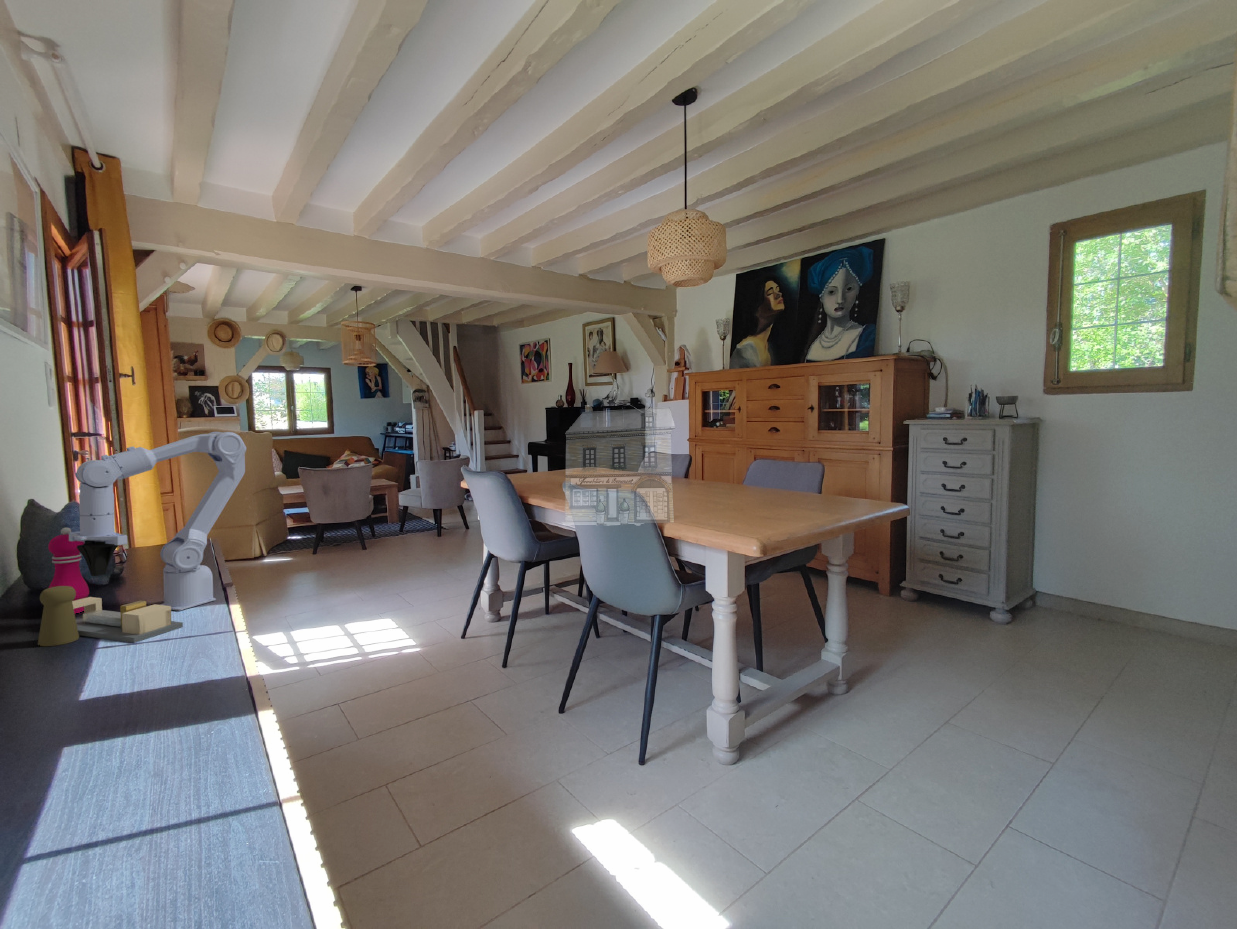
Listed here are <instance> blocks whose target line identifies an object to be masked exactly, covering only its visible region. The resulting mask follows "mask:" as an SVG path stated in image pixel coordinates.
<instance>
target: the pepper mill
mask: <svg viewBox="0 0 1237 929" xmlns="http://www.w3.org/2000/svg"><path fill="white" fill-rule="evenodd" d="M71 532H72V529H71V528H69V527H63V528H62V529H60V534H59V535H57V536H54V537H52V539H50V541H49V543H48V545H47V546H48V551H49V552H50V553H51V554H52V555H53V556H52V557H51V559H52V561H51V563H52V564H54V574H53V578H52V580H51V582H50V585H49V586H48V588H51V587H57V586H70V587H73V588H74V589H75V591H76V596H75V599H74V600H73V601H75V600H79V599H83V598H88V597H89V595H90V588H89V586H88V583H87V581H86V580H85V578H84V577H83V576H82V572H81V568H80V561H81V560H83V558H82V556H83V555H82V554H81V552H80V551H79V550H78V549H77V546H78V545H84V543H85V542H83V541H69V533H71ZM82 611H84V606H83V607H79V608H75V609H74V614H75V615H77V614H76V613H79V614H81V613H80V612H82ZM82 613H83V612H82Z"/></svg>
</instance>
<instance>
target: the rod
mask: <svg viewBox="0 0 1237 929" xmlns="http://www.w3.org/2000/svg"><path fill="white" fill-rule="evenodd" d="M143 607H147V601H146V600H138V601H133V602H131V603H127V604H123V605H120V608H119V609H120V611H115V610H114V611H113V610H105V609H104V610H103V609H102V610H95V611H91V612H87V613H84V612H83V613H82V616H83V622H88V623H96V624H103V625H111V626H119V627H121V628H122V613H125V612H129V611H132V610H136V609H140V608H143Z"/></svg>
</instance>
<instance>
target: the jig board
mask: <svg viewBox="0 0 1237 929" xmlns="http://www.w3.org/2000/svg"><path fill="white" fill-rule="evenodd" d="M72 604H73V609H75V608H79V607H83V606H84V612H83V614H84V613H87V612H91V611H95V610H103V606H102V605H103V601H102V597H93V596H87V598H83V599H79V600H75V601H72ZM75 619H76V624H77V629H78V634H79V636H82V637H90V638H97V639H104V640H110V641H119V642H124V643H126V642H127V643H138V642H140V641H141V642H142V641H145V640H147V639H150V638H154V637H156V636H159V635H162V634H166V633H168V632H171V631H175V630H177V629H180V628H183V625H184V624H183V623H184V622H181V621H176V620H175V621H173V620H172V610H171V606H165V605H159V604H157V603H156V604H155V603H154V604H152V605H151V604H150V605H148V606H147V605H146V607H143V608H140V609H136V610H132V611H129V612H125V613H122V628H121V627H119V626H111V625H103V624H96V623H88V622H83V615H81V616H77V617H76V616H75Z"/></svg>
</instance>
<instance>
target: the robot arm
mask: <svg viewBox="0 0 1237 929" xmlns="http://www.w3.org/2000/svg"><path fill="white" fill-rule="evenodd" d="M246 452H247V446H246V444H245V443H244V441H243V439H242V437H241V435H239V434H238V433H235V432H232V431H225V432H221V431H212V432H211V431H210V432H209V433H201V434H197V435H193V436H189V437H186V438H182V439H180V440H176V441H173V442H170V443H166V444H163V445H161V446H159V447H156V448H152V449H147V448H144V447H142V446H139V447H135V446H129V447H126V450H124V451H121V452H119V453H115V454H112V455H108V454H104V455H101V456H100V458H101V459H100V460H99V459H98V460H96V459H95V460H94V459H93V460H86V461H85V462H82V463H81V464H80V465H78V467H77V469H76V472H75V473H74V476H75V479H77V482H79V495H78V497H79V498H78V499H79V503H78V505H79V531H71V533H69V541H83V542H84V545H78V546H77V549H78V550H79V551H80V554H82V556H83V558H84V560H85V563H86V565H87V567H88V571H89V573H90V575H91V576H92V577H98V576H103V575H106V574H107V571H108V567H109V565H110V562H111V559H112V557H113V554H114V553H115V551H116V550H117V548H118V547H119V546H121V545H127V544H128V534H127V535H126V534H122V533H119V532H116V528H115V527H116V526H115V520H116V518H115V494H114V483H115V482H116V481H117V480H119V481H120V480H121V481H122V480H124V479H127V478H130V477H133V476H136V475H140V474H142V473H143V474H144V473H145V472H148V471H149V472H150V471H152V470H153V469H154V467H155V465H156V464H157V463H159V462H162V461H163V462H164V461H166V460H169V459H173V458H177V457H180V456H183V455H188V454H191V453H206V454H207V455H208V456H209V457H210V458H211V459H212V460H213V462H214V463H215V466H216V468H217V470H218V473H217V474H216V475H215V477H214V479H213V480H212V482H211V484H210V485H209V487H208V488H207V489H206V492H205V493H204V495H203V496H202V498H201V499H200V501H199V503H198V505H197V506H196V508H195V509H194V511H193V513H192V514H191V516H190V517H189V519H188V520H187V522H186V524H185V525H184V527H183V528H182V529H180V530H179V531H178V532H177V533H176V534H175V535H174V536H173V538H172V539H171V540H169V541H168V542H167V543H165V544H164V545H163V546H162V548H161V550H160V554H159V555H160V558H161V561H163V563H165V567H163V570H162V571H163V572H162V573H163V574H162V575H163V603H161V604H158V605H165V606H171V611H182V610H187V609H190V608H193V607H196V606H200V605H204V604H207V603H210V602H213V601H216V600H217V598H215V597H214V583H213V582H214V579H213V578H214V577H213V576H214V575H213V572H212V571H211V568H210V567H208V566H207V565H203V564H202V565H201V563H202V561H203V559H204V551H205V549H206V547H207V545H208V535H209V533H210V531H212V528H213V527H214V525H215V523H216V521H218V518H219V517H220V515H221V513H222V512H223V510H224V508H225V507H226V505H227V503H228V501H229V500H230V499H231V497H232V496H233V493H234V492H235V490H237V489H236V488H237V487H238V485H239V484H240V482H241V480H242V479H243V477H244V475H245V473H246V458H245V457H246Z"/></svg>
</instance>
